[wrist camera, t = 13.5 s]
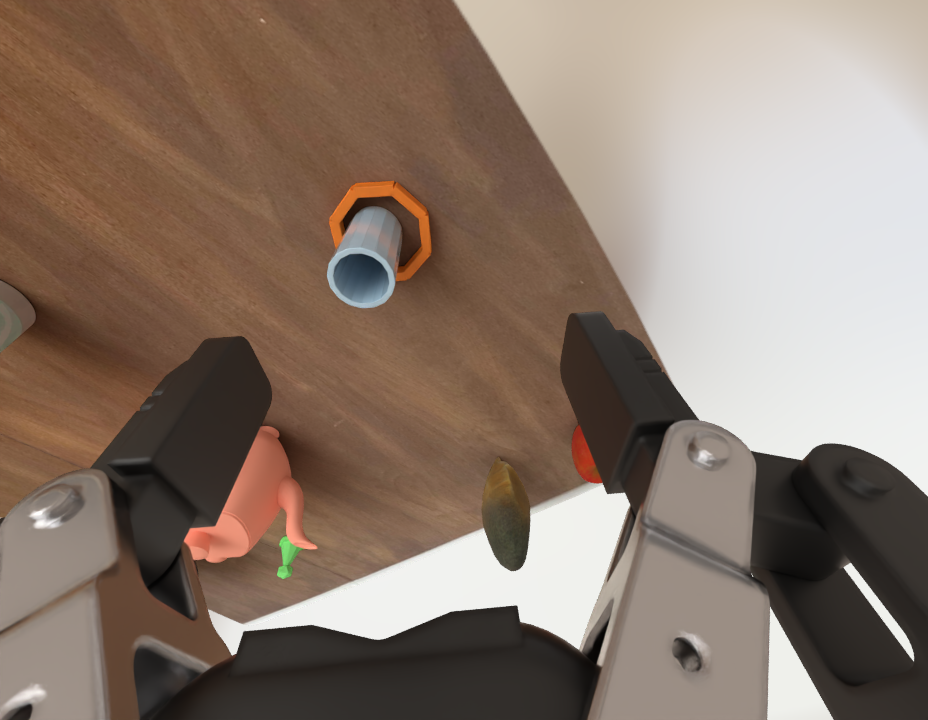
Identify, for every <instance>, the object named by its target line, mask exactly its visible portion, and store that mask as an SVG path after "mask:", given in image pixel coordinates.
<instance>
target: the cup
mask: <svg viewBox="0 0 928 720" xmlns="http://www.w3.org/2000/svg"><path fill="white" fill-rule="evenodd" d="M402 235H403V234H402V228H401V225H400V223H399V221H398V219H397V218H396V217H395V215H393V214H392V213H391V212H390V211H388V210H387V209H384V208H382V207H378V206H369V207H365V208H363V209H361V210H359V211H358V212H357V213H356V214H355V215H354V217H353V219H352V220H351V222H350V224H349V225H348V227H347V229H346V231H345V233H344V235H343V237H342V239H341V241H340V243H339V245H338V247H337V249H336V251H335V253H334V255H333V257H332V259H331V260H330V262H329V265H328V271H327V278H328V281H329V285H330V287H331V289H332V290H333V292H334V293H335V294H336V295H337V297H338V298H339V299H341V300H342V301H344V302H346V303H347V304H349V305H351V306H355V307H359V308H373V307H376V306H378V305H381V304H383V303H385V302H386V301H387V300H388V298H389V297H390V296H391V295H392V293H393V290H394V286H395V282H396V276H397V270H398V263H399V257H400V251H401V245H402V239H403V237H402Z"/></svg>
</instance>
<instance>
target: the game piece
mask: <svg viewBox="0 0 928 720" xmlns="http://www.w3.org/2000/svg"><path fill="white" fill-rule="evenodd" d="M279 546H280V547H281V548H282V558H283V566H281V567H279V569H278V573H277V576H279V577H280V578H282V579H284V578H287V577H290V576H291V574H292V570H293V568H292V567H291V566H290V564H291V563H292V561H293V560H294V558H295V557H296V555H297V554H298V552H299V551H300V550H303V549H304V548H300V547H297V546H295V545H293V544H292V543H291V542H290V541H289V539H288V537H287V536H285V537H283V538H282V539H281V541H280V544H279Z"/></svg>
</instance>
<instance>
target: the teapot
mask: <svg viewBox="0 0 928 720" xmlns="http://www.w3.org/2000/svg"><path fill="white" fill-rule="evenodd" d="M278 437H279V432H278V431H277V430H276V429H275V428H273V427H270V426H261V427H260V429H259V431H258V433H257V436H256V438H255V440H254V442H253V444H252V447H251V449H250V451H249V453H248V456H247V458H246V460H245V462H244V464H243V467H242V469H241V471H240V473H239V475H238V478H237V480H236V482H235V484H234V486H233V489H232V491H231V493H230V495H229V497H228V500H227V502H226V504H225V506H224V508H223V511H222V513H221V515H220V517H219V519H218V522H217V524H216V526H213V527H201V528H190V530H189V532H188V534H187V536H186V538H185V540H184V541H185V542H186V543H187V544H188V545H189V547H190V550H191V553H192V557H193V560H200V559H204V558H205V559H206V560H207V561H209V562H212V563H218V562H222V561H224V560H225V559H227V557H240V556H243V555H245V554H246V553H248V552H249V551H250V550H251V548H252V547H253V546H254V545H255V544H256V543H257V542H258V540H259V539H260V538H261V537H262V536H263V534H264V533H265V532H266V531H267V529H268V528H269V527H270V525H271V524H272V522H273V521H274V519H275V518H276V516H277V514H278V513H279V511H280V509H281V508H283V509H284V510H285V511H286V513H287V525H286V532H287V537H288V539H289V541H290V542H291V543H292V544H293V545H295V546H297V547H300V548H304V549H317V546H316V545H315V544H313V543H312V542H311V541H310V540H309V539H307V538H306V536H305V534H304V532H303V527H302V518H303V509H304V498H303V493H302V490H301V487H300V486H299V485H298V483H297V482H296V481H295V480H294V479H292V478H291V470H290V465H289V461H288V458H287V456H286V453H285V451H284V449H283V447H282V445H281V443H280V442H279V440H278V439H277V438H278Z"/></svg>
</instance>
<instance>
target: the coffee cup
mask: <svg viewBox="0 0 928 720" xmlns="http://www.w3.org/2000/svg"><path fill="white" fill-rule="evenodd" d="M35 319H36V314H35V311H34V308H33V307H32V305H31V304H30V302H29V301H28V300H27V299H26V298H25V297H24V296H23V295H22V294H21V293H20V292H19V291H17V290H16V289H15V288H13V287H12V286H10V285H8V284H6V283H5V282H3V281H1V280H0V353H1V352H2V351H3V350H4V349H5V348H6V347H8V346H9V345H10V344H11V343H12V342H13V341H14V340H16V339H17V338H18V337H19V336H20V335H21V334H22V333H23V332H25V331H26V330H27V329H28V328H29V327H30V326H31V325H32V324H33V323H34V322H35Z"/></svg>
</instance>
